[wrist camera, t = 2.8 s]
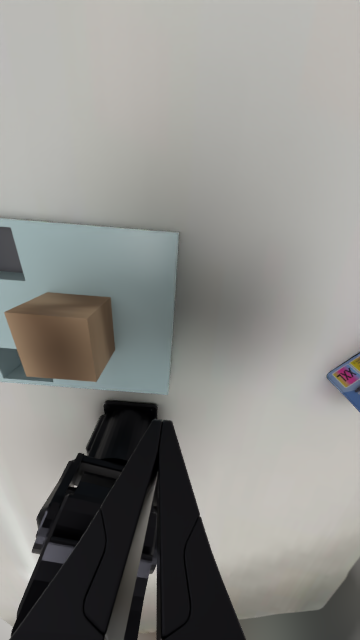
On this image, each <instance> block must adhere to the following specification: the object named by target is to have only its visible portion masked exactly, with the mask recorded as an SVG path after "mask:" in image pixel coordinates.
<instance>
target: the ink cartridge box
mask: <svg viewBox="0 0 360 640" xmlns="http://www.w3.org/2000/svg"><path fill="white" fill-rule="evenodd" d="M327 378H328V380H329V381H330V382H331V383H332V384H333V385H334V386H335V387H336V388H337V389H338V390H339V391H340V392H341V393H342V394H343V395H344V396H345V397H346V398H347V399H348V400H349V401H350V402H351V403H352V404H353V405H354V407H355V408H356V409H357V410H358V411H359V412H360V353H359V354H358V355H356V356H355V357H353V358H351V359H350V360H348V361H347V362H345V363H344V364H342V365H341V366H339V367H337V368H336V369H334V370H333V371H331V372H330V373H328V374H327Z"/></svg>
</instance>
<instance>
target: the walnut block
mask: <svg viewBox="0 0 360 640" xmlns="http://www.w3.org/2000/svg"><path fill="white" fill-rule="evenodd" d="M4 314H5V317H6V320H7V323H8V325H9V328H10V331H11V334H12V337H13V340H14V342H15V345H16V348H17V351H18V354H19V357H20V360H21V362H22V365H23V368H24V371H25V374H26V377H39V378H52V379H65V380H77V381H90V382H97V380H98V379H99V377H100V375H101V373H102V372H103V370H104V368H105V367H106V365H107V363H108V361H109V360H110V358H111V356H112V355H113V353H114V351H115V342H114V330H113V319H112V307H111V297H101V296H89V295H76V294H64V293H51V292H47V293H44V294H42V295H40V296H38V297H36V298H34V299H31V300H29V301H27V302H25V303H23V304H21V305H18V306H16V307H14V308H12V309H10V310H8V311H5V312H4Z"/></svg>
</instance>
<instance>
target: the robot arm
mask: <svg viewBox="0 0 360 640" xmlns="http://www.w3.org/2000/svg"><path fill="white" fill-rule="evenodd" d="M104 413H105V415H102V416H100V418H99V420H98V423H97V425H96V427H95V429H94V431H93V433H92V436H91V438H90V440H89V442H88V444H87V447H86V451H87V456H86V455H84V454H82V453H78V455H77V457H76V459H75V460H72V461H69V462H68V464H67V466H66V468H65V470H64V472H63V474H62V476H61V478H60V480H59V481H58V483H57V485H56V486H55V488H54V490H53V491H52V493H51V494H50V496H49V497H48V499H47V501H46V502H45V504H44V505H43V507H42V509H41V510H40V512H39V514H38V516H37V519H36V520H37V525H38V531H37V534H36V541H35V543H34V546H33V549H32V553H36V554H40V557H39V559H38V562H37V564H36V566H35V569H34V571H33V574H32V576H31V578H30V581H29V583H28V586H27V588H26V590H25V593H24V595H23V598H22V600H21V602H20V605H19V608H18V611H17V620H16V622H15V624H14V627H13V629H12V633H11V638H10V639H9V640H137V638H138V631H139V625H140V619H141V612H142V606H143V600H144V595H145V590H146V586H147V581H148V576H149V574H152V573H153V571H154V569H155V567H156V564H157V640H246V638H245V636H244V633H243V631H242V628H241V626H240V623H239V621H238V618H237V616H236V613H235V610H234V608H233V605H232V603H231V600H230V598H229V595H228V593H227V590H226V588H225V585H224V583H223V580H222V578H221V575H220V572H219V570H218V567H217V564H216V562H215V559H214V556H213V554H212V551H211V548H210V544H209V541H208V538H207V535H206V532H205V529H204V526H203V522H202V519H201V517H200V513H199V509H198V506H197V503H196V499H195V496H194V493H193V489H192V486H191V483H190V479H189V476H188V473H187V469H186V466H185V463H184V459H183V456H182V453H181V449H180V446H179V443H178V439H177V436H176V433H175V429H174V426H173V423H172V421H170V420H163V422H162V420H157V415H158V407H157V406H156V405H154V404H141V403H128V402H115V401H106V402H105V404H104ZM74 485H76V486H77V488H75V487H74Z"/></svg>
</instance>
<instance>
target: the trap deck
mask: <svg viewBox="0 0 360 640" xmlns="http://www.w3.org/2000/svg"><path fill="white" fill-rule="evenodd" d="M178 247H179V232H170V231H158V230H146V229H133V228H121V227H109V226H96V225H84V224H72V223H59V222H47V221H34V220H22V219H10V218H0V382H10V383H22V384H35V385H48V386H61V387H74V388H86V389H99V390H112V391H125V392H138V393H151V394H163V395H168V391H169V382H170V369H171V354H172V339H173V323H174V308H175V293H176V277H177V262H178ZM47 292H51V293H64V294H76V295H89V296H101V297H111V307H112V319H113V330H114V342H115V351H114V353H113V355H112V356H111V358H110V360H109V361H108V363H107V365H106V367H105V368H104V370H103V372H102V373H101V375H100V377H99V379H98V380H97V382H90V381H77V380H65V379H52V378H39V377H26V374H25V371H24V368H23V365H22V362H21V360H20V357H19V354H18V351H17V348H16V345H15V342H14V340H13V337H12V334H11V331H10V328H9V325H8V323H7V320H6V317H5V314H4V312H5V311H8V310H10V309H12V308H14V307H16V306H18V305H21V304H23V303H25V302H27V301H29V300H31V299H34V298H36V297H38V296H40V295H42V294H44V293H47Z"/></svg>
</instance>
